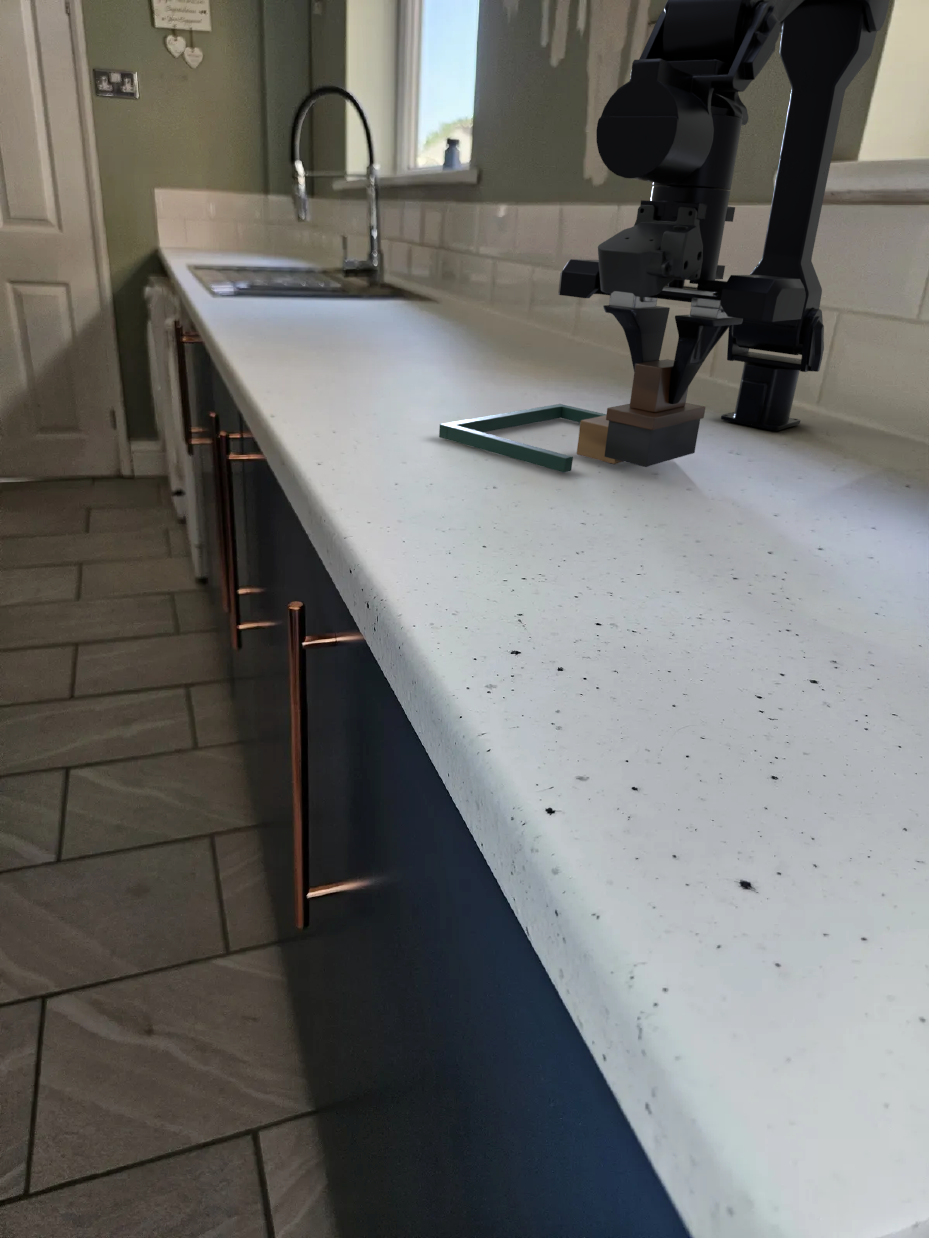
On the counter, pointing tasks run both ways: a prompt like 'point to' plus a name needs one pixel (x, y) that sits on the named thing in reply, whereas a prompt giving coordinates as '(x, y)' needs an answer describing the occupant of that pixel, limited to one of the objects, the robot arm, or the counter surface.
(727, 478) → the counter surface
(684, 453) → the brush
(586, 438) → the cork block
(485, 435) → the frame
